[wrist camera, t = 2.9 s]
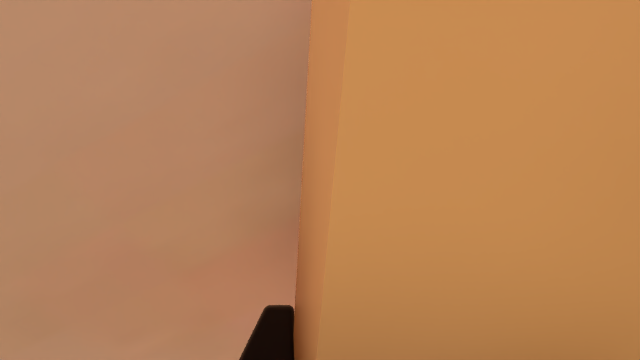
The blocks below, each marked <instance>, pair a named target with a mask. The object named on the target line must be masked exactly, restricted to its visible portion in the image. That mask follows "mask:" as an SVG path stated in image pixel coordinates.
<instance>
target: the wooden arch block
mask: <svg viewBox="0 0 640 360" xmlns="http://www.w3.org/2000/svg"><path fill="white" fill-rule="evenodd" d="M293 339H294V360H640V0H312V9H311V27H310V45H309V62H308V80H307V98H306V116H305V134H304V152H303V170H302V188H301V206H300V224H299V242H298V260H297V278H296V296H295V314H294V332H293Z"/></svg>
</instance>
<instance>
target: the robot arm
mask: <svg viewBox="0 0 640 360" xmlns="http://www.w3.org/2000/svg"><path fill="white" fill-rule="evenodd" d="M293 332H294V309H293V307H292V306H290V305H269V306H267V307H266V308H265V309H264V310H263V312H262V314H261V316H260V318H259V320H258V322H257V324H256V326H255V328H254V330H253V332H252V335H251V337H250V339H249V341H248V343H247V345H246V347H245V349H244V351H243V353H242V355H241V357H240V359H239V360H294V339H293Z"/></svg>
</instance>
